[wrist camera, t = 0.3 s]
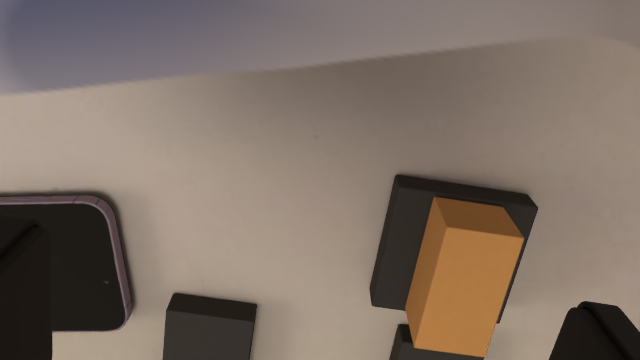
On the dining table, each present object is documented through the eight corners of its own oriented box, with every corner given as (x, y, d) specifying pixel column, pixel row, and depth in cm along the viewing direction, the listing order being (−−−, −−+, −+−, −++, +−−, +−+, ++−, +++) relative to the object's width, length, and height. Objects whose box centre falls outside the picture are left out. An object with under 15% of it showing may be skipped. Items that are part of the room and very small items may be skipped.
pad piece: (395, 173, 27) (408, 216, 23) (528, 194, 27) (565, 239, 23) (369, 289, 29) (376, 347, 25) (491, 306, 30) (519, 366, 25)
